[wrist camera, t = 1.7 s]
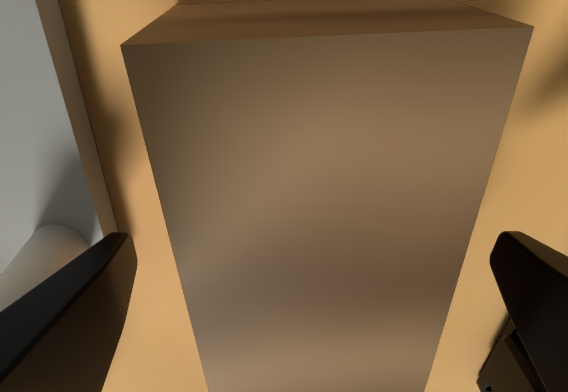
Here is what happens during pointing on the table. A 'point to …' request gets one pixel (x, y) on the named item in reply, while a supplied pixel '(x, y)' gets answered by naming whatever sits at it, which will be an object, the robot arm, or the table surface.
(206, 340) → the block
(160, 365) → the table surface
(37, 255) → the chassis
